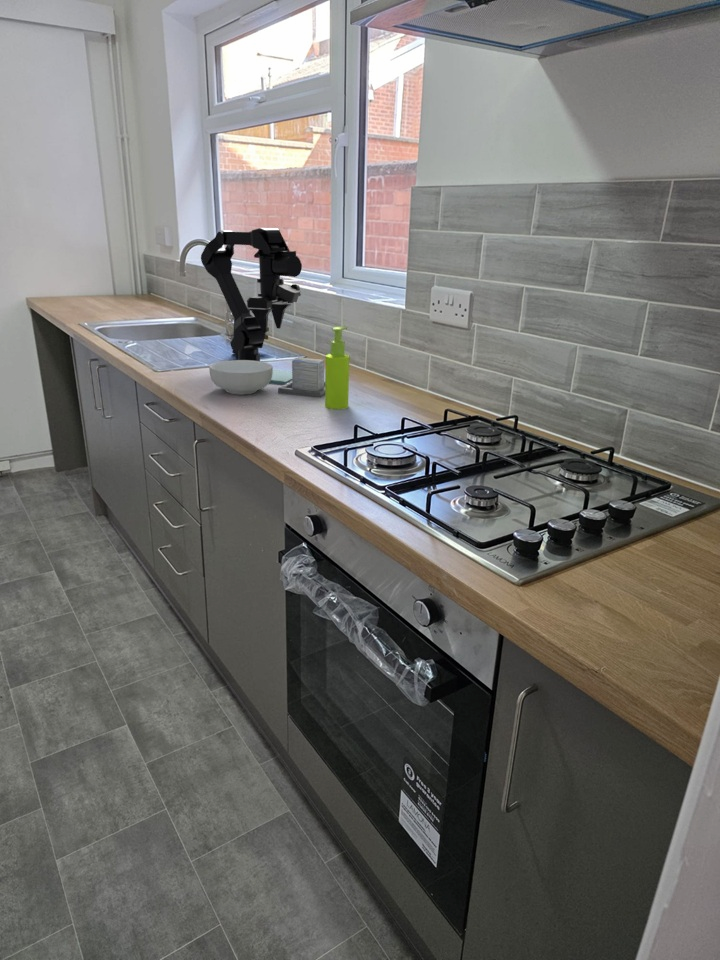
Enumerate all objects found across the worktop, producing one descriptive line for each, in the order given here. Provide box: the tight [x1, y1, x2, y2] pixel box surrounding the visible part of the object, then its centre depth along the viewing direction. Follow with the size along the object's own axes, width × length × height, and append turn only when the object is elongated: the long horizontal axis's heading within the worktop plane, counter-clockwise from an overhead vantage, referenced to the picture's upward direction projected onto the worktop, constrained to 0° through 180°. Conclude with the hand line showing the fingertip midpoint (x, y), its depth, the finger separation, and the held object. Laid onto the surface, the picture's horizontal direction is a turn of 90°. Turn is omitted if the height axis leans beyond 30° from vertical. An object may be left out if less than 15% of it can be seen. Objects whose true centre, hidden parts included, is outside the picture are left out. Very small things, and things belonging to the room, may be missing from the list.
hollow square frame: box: [277, 381, 325, 398], centre depth 179 cm, size 12×12×2 cm
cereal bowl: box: [208, 359, 274, 395], centre depth 176 cm, size 17×17×7 cm
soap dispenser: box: [324, 325, 350, 410], centre depth 162 cm, size 6×7×20 cm
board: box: [269, 369, 292, 386], centre depth 191 cm, size 12×12×1 cm
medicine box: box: [291, 357, 325, 391], centre depth 178 cm, size 8×4×9 cm, turn 72°
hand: (271, 330), depth 191 cm, fingers open, 9 cm apart
